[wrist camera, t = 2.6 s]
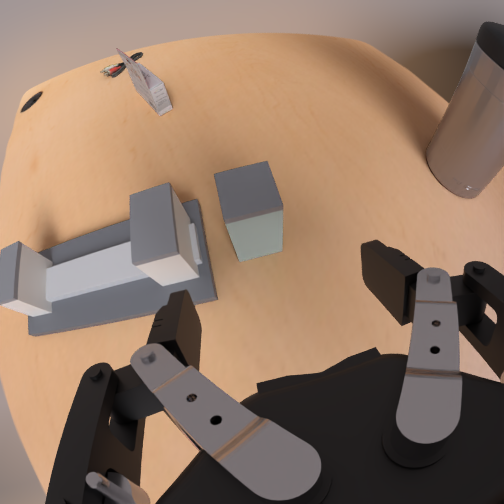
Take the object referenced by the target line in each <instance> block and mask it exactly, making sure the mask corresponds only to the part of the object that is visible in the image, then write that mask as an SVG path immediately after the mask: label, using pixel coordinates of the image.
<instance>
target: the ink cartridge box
mask: <svg viewBox="0 0 504 504" xmlns="http://www.w3.org/2000/svg"><path fill="white" fill-rule="evenodd" d="M117 51H118V53H119V55H120V57H121V58H122V60H123V62H124V64H125V65H126V67H127V69H128V72H129V75H130V77H131V79H132V82H133V84H134V87H135V89H136V91H137V92H138V93H139V94H140V95H141V96H142V97H143V98H144V99H145V101H146V102H147V103H148V104H149V105H150V106H151V107H152V108H153V109H154V110H155V111H156V112H157V114H158V115H159V116H162V115H163V114H165V113H167V112H169V111H170V110H172V109H173V108H172V105H171V102H170V99H169V96H168V94H167V91H166V88H165V85H164V82H162V81H161V80H160V79H159V78H157V77H156V76H155V75H154V74H153V73H151V72H150V71H149V70H148V69H146V68H145V67H144V66H142V65H141V64H140V63H136V62H135V61H134V60H132V59H131V58H130V57H128V56H127V55H126V54H124V53H123V52H121V51H120V50H118V49H117ZM128 61H129V62H130V63H131V64H132V65H131V64H130V63H129V62H128Z"/></svg>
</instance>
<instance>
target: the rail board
mask: <svg viewBox="0 0 504 504" xmlns="http://www.w3.org/2000/svg"><path fill="white" fill-rule="evenodd" d="M185 289H187V290H188V292H189V294H190V296H191V299H192V301H193V304H194V305H197V304H201V303H206V302H210V301H214V300H218V298H217V293H216V288H215V283H214V278H213V273H212V268H211V263H210V258H209V253H208V247H207V242H206V236H205V231H204V225H203V220H202V214H201V208H200V204H199V202H198V200H197V199H195V200H192V201H188V202H185V203H181V202H180V200H179V199H178V197H177V195H176V193H175V192H174V190H173V188H172V186H171V184H170V183H165V184H162V185H159V186H156V187H153V188H150V189H147V190H144V191H141V192H138V193H135V194H132V195H130V219H129V220H126V221H123V222H120V223H117V224H114V225H111V226H108V227H105V228H103V229H100V230H97V231H94V232H91V233H88V234H86V235H83V236H80V237H77V238H75V239H72V240H69V241H67V242H64V243H62V244H59V245H56V246H54V247H51V248H49V249H46V250H44V251H41V252H39V253H37V252H35V251H34V250H32V249H30V248H29V247H27V246H26V245H24V244H23V243H21V242H19V241H18V242H16V243H14V244H12V245H10V246H8V247H6V248H4V249H2V250H1V254H0V305H1V306H4V307H6V308H9V309H12V310H14V311H17V312H20V313H23V314H26V315H28V330H29V335H32V336H41V335H47V334H53V333H59V332H65V331H71V330H76V329H82V328H87V327H93V326H98V325H103V324H108V323H113V322H118V321H123V320H128V319H133V318H138V317H143V316H147V315H152V314H156V313H157V312H158V311H159V309H160V308H161V307H162V306H164V305H167V303H168V300H169V296H170V293H173V292H177V291H181V290H185Z"/></svg>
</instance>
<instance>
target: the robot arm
mask: <svg viewBox="0 0 504 504" xmlns="http://www.w3.org/2000/svg"><path fill="white" fill-rule="evenodd" d="M426 157H427V161H428V165H429V167H430V169H431V171H432V172H433V174H434V175H435V177H436V178H437V179H438V180H439V181H440V182H441V184H442V185H444V186H445V187H446V188H447V189H448V190H450V191H451V192H453V193H454V194H456V195H458V196H460V197H464V198H474V197H476V196H478V195H479V194H480V193H481V192H482V191H483V189H484V188H485V187H486V186H487V185H488V184H489V183H490V181H491V180H492V179H493V178H494V177H495V176H496V175H497V173H498V172H499V171H500V170H501V169H502V167H503V166H504V25H501V24H497V23H494V22H484V23H483V24H482V25H481V27H480V30H479V33H478V36H477V39H476V41H475V44H474V47H473V50H472V52H471V55H470V57H469V60H468V63H467V65H466V68H465V70H464V73H463V75H462V78H461V80H460V82H459V84H458V87H457V88H456V90H455V92H454V95H453V97H452V99H451V101H450V103H449V105H448V108H447V110H446V112H445V114H444V116H443V118H442V120H441V122H440V124H439V126H438V128H437V130H436V132H435V134H434V136H433V138H432V140H431V142H430V144H429V146H428V148H427V151H426ZM361 260H362V276H363V280H364V283H365V285H366V286H367V288H368V289H369V290H370V291H371V292H372V293H373V294H374V295H375V296H376V298H377V299H378V300H379V301H380V302H381V303H382V304H383V305H384V306H385V308H386V309H387V310H388V311H389V312H390V313H391V314H392V316H393V317H394V318H395V319H396V320H397V321H398V322H399V324H400V325H401V326H403V325H405V324H408V323H410V322H412V323H413V326H412V333H411V340H410V347H409V353H408V355H404V354H382V355H381V354H380V353H379V352H378V350H377V349H376V347H375V348H372V349H369V350H367V351H364V352H361V353H359V354H356V355H353V356H350V357H348V358H346V359H344V360H343V361H341V362H339V363H337V364H336V365H334V366H332V367H330V368H328V369H327V370H325V371H323V372H320V373H313V374H303V375H290V376H284V377H280V378H276V379H272V380H268V381H264V382H260V383H257V389H258V392H257V393H255V394H253V395H251V396H249V397H248V398H246V399H244V400H243V401H242V402H240V403H238V402H237V401H236V400H234V399H233V398H232V397H230V396H229V395H228V394H226V393H225V392H224V391H223V390H221V389H220V388H219V387H217V386H216V385H215V384H214V383H212V382H211V381H210V380H209V379H207V378H206V377H205V376H204V375H202V374H201V373H200V372H199V363H200V347H201V333H202V328H201V323H200V319H199V316H198V314H197V311H196V309H195V306H194V304H193V301H192V299H191V296H190V294H189V292H188V290H187V289H185V290H181V291H177V292H173V293H170V296H169V300H168V303H167V305H164V306H162V307H161V308H160V309H159V311H158V312H157V313H156V315H155V318H154V322H153V325H152V328H151V331H150V334H149V337H148V341H147V344H146V345H145V346H143V347H141V348H139V349H138V350H137V351H136V352H135V353H134V354H133V355H132V357H131V360H130V363H131V364H130V365H128V366H125V367H123V368H120V369H117V370H115V371H114V370H113V369H112V367H111V366H110V365H109V364H108V363H98V364H95V365H93V366H91V367H90V368H89V369H88V370H86V372H85V373H84V374H83V376H82V379H81V381H80V384H79V387H78V389H77V392H76V395H75V398H74V400H73V403H72V406H71V409H70V412H69V415H68V418H67V421H66V424H65V427H64V430H63V434H62V437H61V440H60V444H59V447H58V451H57V454H56V458H55V462H54V466H53V470H52V474H51V478H50V483H49V487H48V492H47V497H46V502H45V504H150V498H149V496H148V494H147V493H146V492H145V491H144V490H143V489H142V488H140V475H141V460H142V448H143V438H144V428H145V419H146V417H147V416H150V415H152V414H155V413H158V412H160V411H164V412H165V414H166V415H167V416H168V417H169V418H170V419H171V421H172V422H173V423H174V424H175V425H176V426H177V427H178V429H179V430H180V431H181V432H182V433H183V434H184V435H185V436H186V437H187V438H188V440H189V441H190V442H191V443H192V444H193V445H194V446H195V447H196V448H197V449H198V450H199V453H198V454H197V455H196V456H195V458H194V459H193V460H192V461H191V462H190V464H189V465H188V466H187V467H186V468H185V470H184V471H183V472H182V473H181V474H180V476H179V477H178V478H177V479H176V480H175V481H174V483H173V484H172V485H171V486H170V487H169V488H168V489H167V491H166V492H165V493H164V494H163V495H162V496H161V497H160V498H159V500H158V501H157V502H156V504H504V275H502V274H501V273H499V272H498V271H497V270H495V269H494V268H492V267H491V266H490V265H488V264H486V263H484V262H479V261H472V262H469V263H467V264H466V265H465V266H464V273H463V275H458V276H452V277H450V276H449V274H448V273H447V272H446V271H444V270H442V269H439V268H425V269H424V268H423V267H422V266H420V265H419V264H418V263H416V262H415V261H413V260H412V259H410V258H409V257H408V256H407V255H405V254H404V253H402V252H401V251H400V250H398V249H395V248H392V247H387V246H385V245H384V244H383V243H381V242H380V241H378V240H373V241H370V242H366V243H363V244H362V245H361ZM486 304H488V305H489V306H491V307H492V308H493V309H494V310H495V312H496V314H497V323H496V324H495V323H494V322H493V321H492V320H491V319H490V318H489V317H488V316H487V315H486V314H485V313H484V312H485V308H486ZM459 331H460V332H461V333H462V334H463V335H464V337H465V338H466V339H467V340H468V341H469V342H470V343H471V345H472V346H473V347H474V348H475V349H476V350H477V352H478V353H479V354H480V355H481V356H482V358H483V359H484V360H485V361H486V362H487V364H488V365H489V366H490V367H491V368H492V370H493V371H494V372H495V373H496V375H497V376H498V377H499V379H500V382H497V381H493V380H489V379H485V378H482V377H478V376H475V375H471V374H468V373H464V372H461V371H460V370H459V365H460V355H459ZM110 417H111V420H110V424H109V418H110Z"/></svg>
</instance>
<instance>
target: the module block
mask: <svg viewBox="0 0 504 504" xmlns="http://www.w3.org/2000/svg"><path fill="white" fill-rule="evenodd" d="M214 177H215V181H216V186H217V191H218V196H219V200H220V205H221V209H222V214H223V219H224V222H225V225H226V227H227V230H228V233H229V235H230V238H231V241H232V243H233V246H234V249H235V251H236V254H237V257H238V259H239V262H242V261H246V260H250V259H254V258H258V257H262V256H266V255H270V254H273V253H277V252H281V251H282V245H283V203H282V200H281V198H280V195H279V192H278V189H277V186H276V183H275V181H274V178H273V175H272V172H271V170H270V167H269V164H268V161H265V162H260V163H256V164H252V165H247V166H243V167H239V168H235V169H231V170H227V171H223V172H220V173H216V174H214Z"/></svg>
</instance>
